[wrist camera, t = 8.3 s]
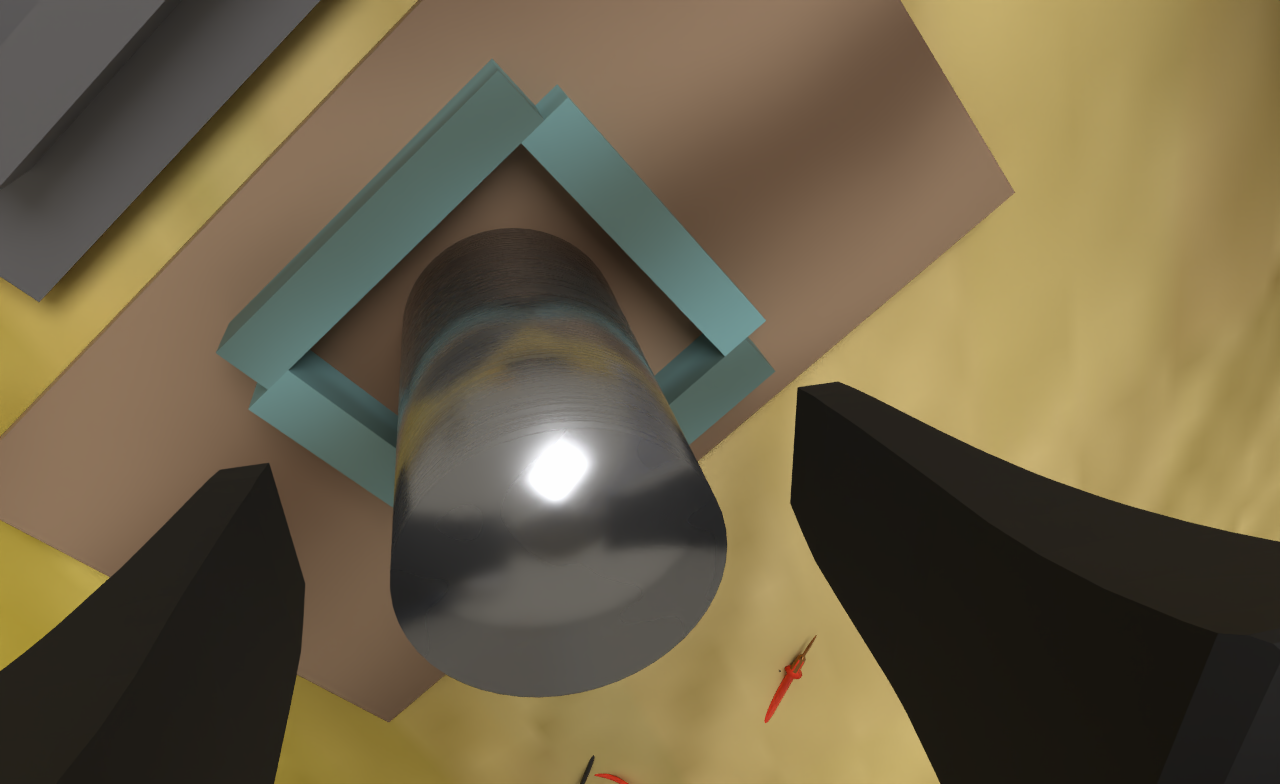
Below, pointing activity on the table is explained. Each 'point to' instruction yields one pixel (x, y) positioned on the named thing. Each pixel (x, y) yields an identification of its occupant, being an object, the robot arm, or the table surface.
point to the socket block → (109, 110)
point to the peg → (540, 478)
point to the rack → (496, 199)
